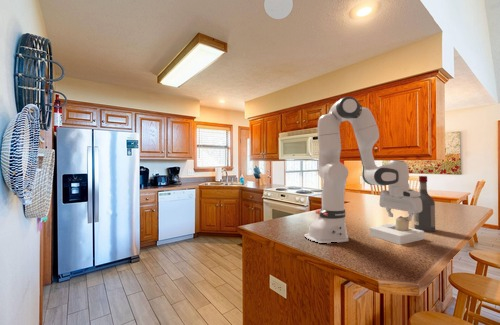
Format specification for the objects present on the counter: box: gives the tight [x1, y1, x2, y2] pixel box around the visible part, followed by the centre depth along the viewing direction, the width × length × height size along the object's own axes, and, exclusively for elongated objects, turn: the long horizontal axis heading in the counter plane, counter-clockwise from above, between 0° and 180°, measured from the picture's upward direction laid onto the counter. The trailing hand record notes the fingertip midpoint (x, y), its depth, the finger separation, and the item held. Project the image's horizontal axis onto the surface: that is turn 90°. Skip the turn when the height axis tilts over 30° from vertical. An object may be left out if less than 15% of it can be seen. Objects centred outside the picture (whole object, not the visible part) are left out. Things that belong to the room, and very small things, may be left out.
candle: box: [395, 215, 410, 232], centre depth 117 cm, size 6×6×10 cm
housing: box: [369, 223, 425, 246], centre depth 117 cm, size 18×16×4 cm
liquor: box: [413, 175, 436, 233], centre depth 129 cm, size 9×9×30 cm
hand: (399, 218), depth 118 cm, fingers open, 8 cm apart
